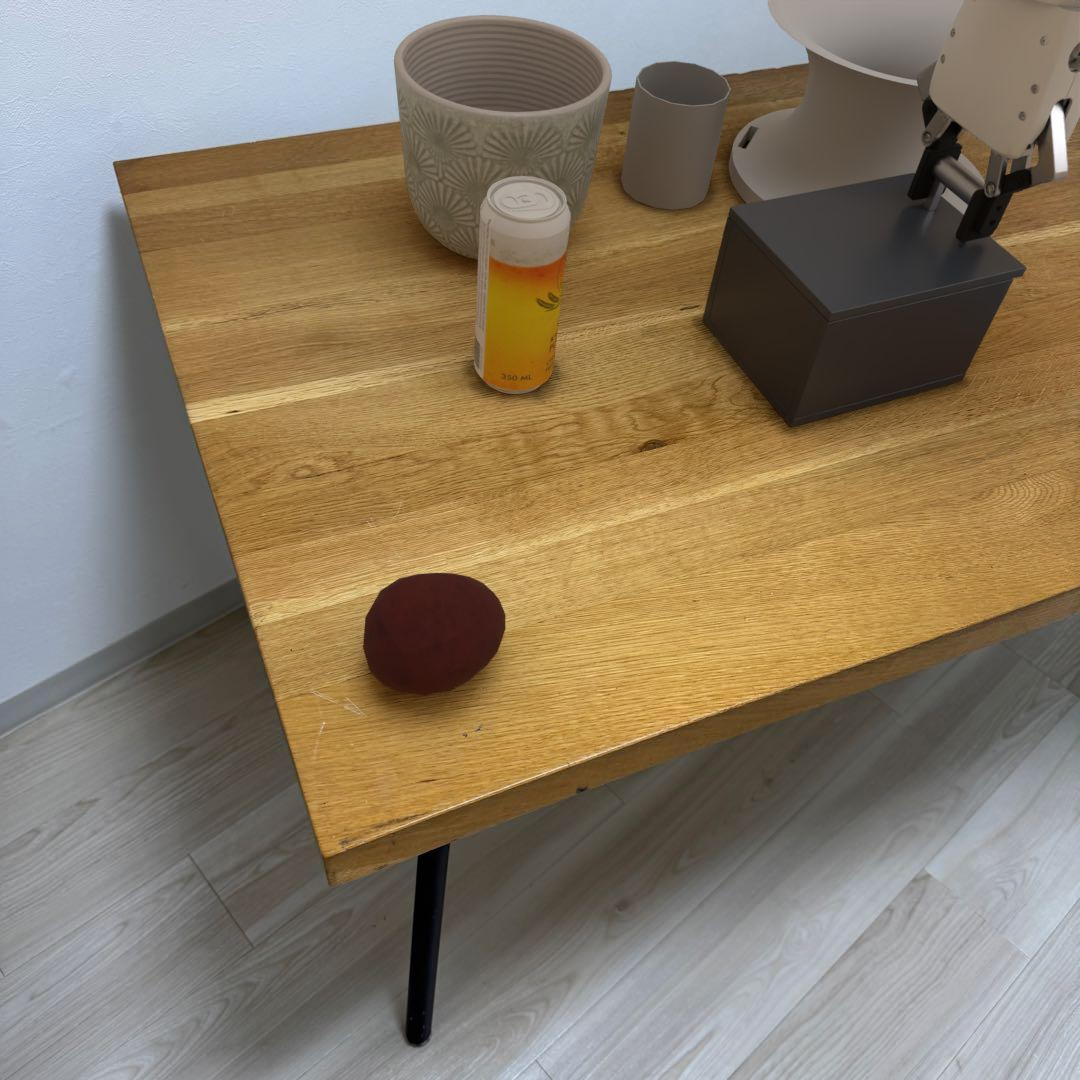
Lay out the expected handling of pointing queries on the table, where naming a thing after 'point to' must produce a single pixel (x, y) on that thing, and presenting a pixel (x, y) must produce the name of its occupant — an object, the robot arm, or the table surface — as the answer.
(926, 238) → the box lid
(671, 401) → the table surface
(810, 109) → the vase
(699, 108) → the cup
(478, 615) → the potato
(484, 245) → the beer can
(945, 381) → the open box
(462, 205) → the planter
